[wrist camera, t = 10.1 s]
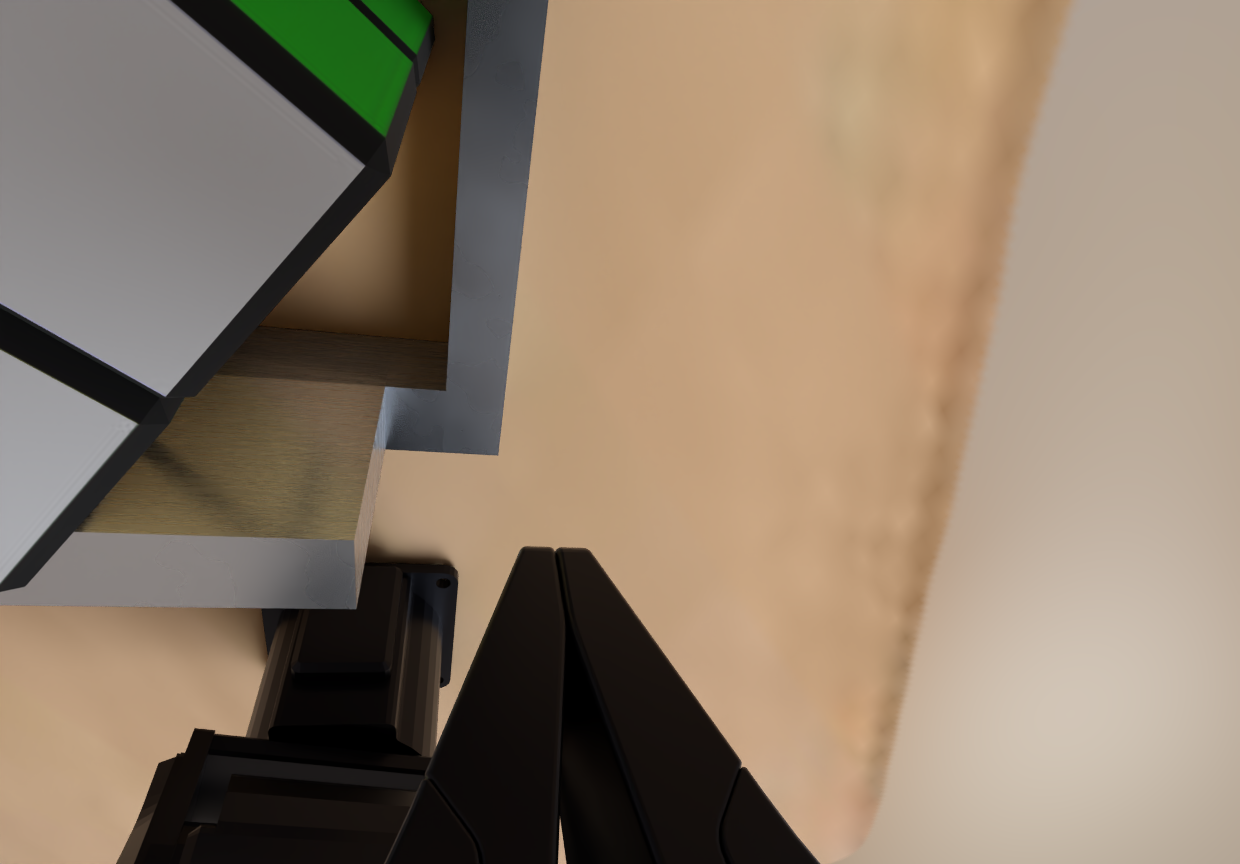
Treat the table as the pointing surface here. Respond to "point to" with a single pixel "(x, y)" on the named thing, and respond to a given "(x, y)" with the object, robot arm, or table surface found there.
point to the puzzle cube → (166, 212)
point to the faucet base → (325, 403)
